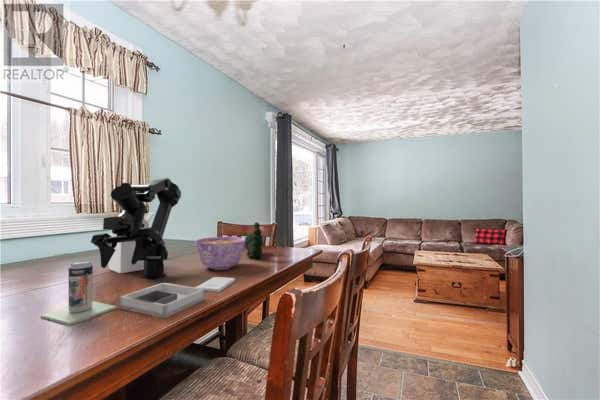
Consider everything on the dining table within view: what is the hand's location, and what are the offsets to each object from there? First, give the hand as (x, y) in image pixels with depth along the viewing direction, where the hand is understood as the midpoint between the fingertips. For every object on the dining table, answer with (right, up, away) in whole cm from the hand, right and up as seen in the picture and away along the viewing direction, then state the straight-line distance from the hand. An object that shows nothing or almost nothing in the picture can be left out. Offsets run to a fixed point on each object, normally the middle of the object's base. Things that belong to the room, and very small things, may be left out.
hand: (117, 265), depth 83 cm
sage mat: (-3, -10, -10) cm, 14 cm away
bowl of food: (+19, -10, +38) cm, 44 cm away
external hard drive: (+24, -10, +14) cm, 30 cm away
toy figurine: (+30, -10, +61) cm, 68 cm away
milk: (-18, -9, +36) cm, 41 cm away
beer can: (-3, -9, -10) cm, 14 cm away
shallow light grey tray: (+15, -10, -3) cm, 18 cm away
